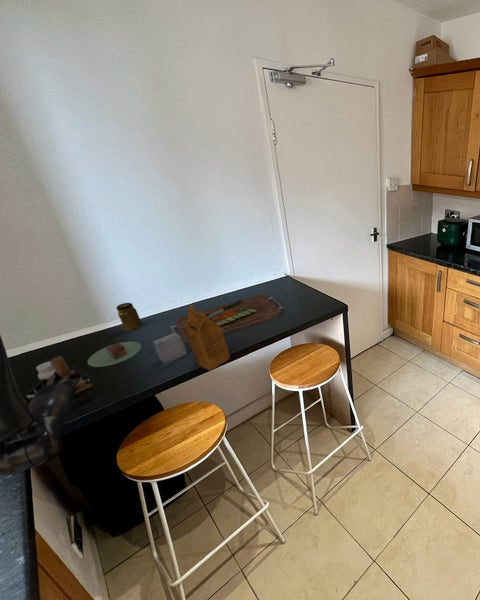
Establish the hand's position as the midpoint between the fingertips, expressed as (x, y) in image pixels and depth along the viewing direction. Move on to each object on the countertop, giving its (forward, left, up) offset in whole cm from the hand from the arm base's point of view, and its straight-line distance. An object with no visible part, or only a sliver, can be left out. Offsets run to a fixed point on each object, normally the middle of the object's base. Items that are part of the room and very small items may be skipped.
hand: (68, 369), depth 95 cm
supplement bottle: (-2, +13, -12) cm, 18 cm away
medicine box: (+26, -3, -12) cm, 29 cm away
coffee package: (+32, -18, -12) cm, 38 cm away
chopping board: (+55, +5, -12) cm, 56 cm away
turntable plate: (+16, +18, -12) cm, 27 cm away
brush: (-1, -3, -8) cm, 9 cm away
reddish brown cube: (+16, +15, -11) cm, 24 cm away
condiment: (+30, +33, -12) cm, 46 cm away
